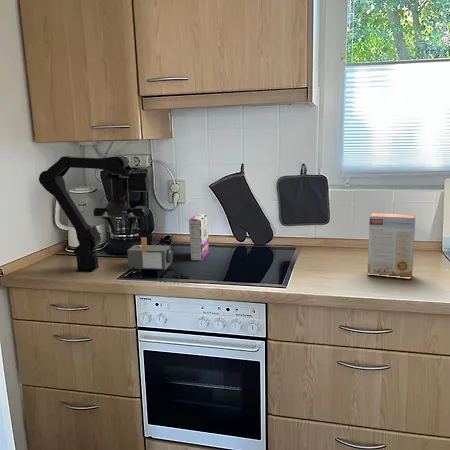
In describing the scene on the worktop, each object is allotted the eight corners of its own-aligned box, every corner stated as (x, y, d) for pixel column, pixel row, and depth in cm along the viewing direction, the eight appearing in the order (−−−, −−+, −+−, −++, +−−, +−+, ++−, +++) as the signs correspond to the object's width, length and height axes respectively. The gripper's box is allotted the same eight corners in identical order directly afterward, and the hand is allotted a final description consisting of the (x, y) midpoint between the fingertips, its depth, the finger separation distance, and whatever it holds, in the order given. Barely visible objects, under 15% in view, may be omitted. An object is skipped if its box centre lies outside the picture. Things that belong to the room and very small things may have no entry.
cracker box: (412, 275, 158) (416, 214, 154) (411, 280, 153) (415, 217, 149) (369, 271, 164) (372, 212, 160) (366, 275, 159) (369, 215, 155)
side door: (142, 268, 170) (141, 238, 168) (143, 267, 171) (142, 237, 169) (161, 268, 169) (160, 238, 167) (162, 267, 170) (160, 237, 168)
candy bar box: (197, 253, 192) (196, 213, 189) (209, 253, 191) (208, 213, 188) (189, 260, 182) (188, 219, 178) (202, 261, 181) (201, 219, 177)
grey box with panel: (128, 268, 172) (127, 248, 171) (135, 262, 180) (134, 243, 179) (168, 269, 170) (167, 249, 169) (174, 263, 178) (173, 244, 176)
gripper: (85, 194, 159) (88, 239, 163) (137, 195, 157) (140, 240, 160) (98, 190, 170) (101, 232, 173) (148, 190, 167) (150, 233, 171)
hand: (122, 234), depth 169 cm, fingers open, 5 cm apart
